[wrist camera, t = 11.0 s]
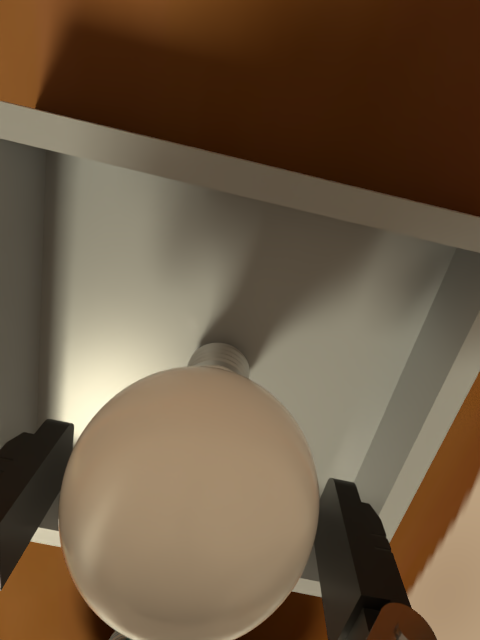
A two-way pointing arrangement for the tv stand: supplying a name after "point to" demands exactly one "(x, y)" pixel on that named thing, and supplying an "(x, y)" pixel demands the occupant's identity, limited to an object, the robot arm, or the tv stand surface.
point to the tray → (232, 296)
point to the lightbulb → (189, 503)
